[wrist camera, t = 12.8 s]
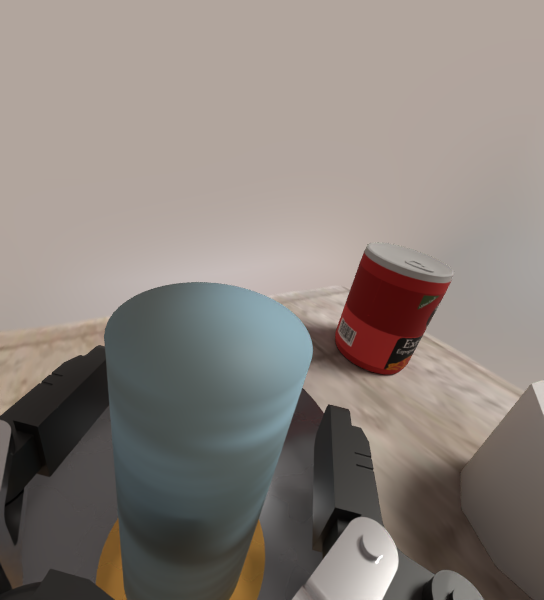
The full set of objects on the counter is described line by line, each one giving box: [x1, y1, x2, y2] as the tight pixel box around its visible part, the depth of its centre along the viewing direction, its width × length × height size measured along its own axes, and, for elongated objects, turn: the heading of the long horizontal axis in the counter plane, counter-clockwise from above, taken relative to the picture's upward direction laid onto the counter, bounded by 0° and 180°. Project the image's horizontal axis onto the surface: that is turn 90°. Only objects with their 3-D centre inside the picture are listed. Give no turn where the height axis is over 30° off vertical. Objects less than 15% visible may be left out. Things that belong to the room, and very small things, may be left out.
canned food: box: [335, 242, 454, 374], centre depth 30 cm, size 8×8×11 cm
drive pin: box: [104, 282, 313, 600], centre depth 10 cm, size 5×5×12 cm
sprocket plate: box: [21, 355, 324, 600], centre depth 18 cm, size 21×22×2 cm
